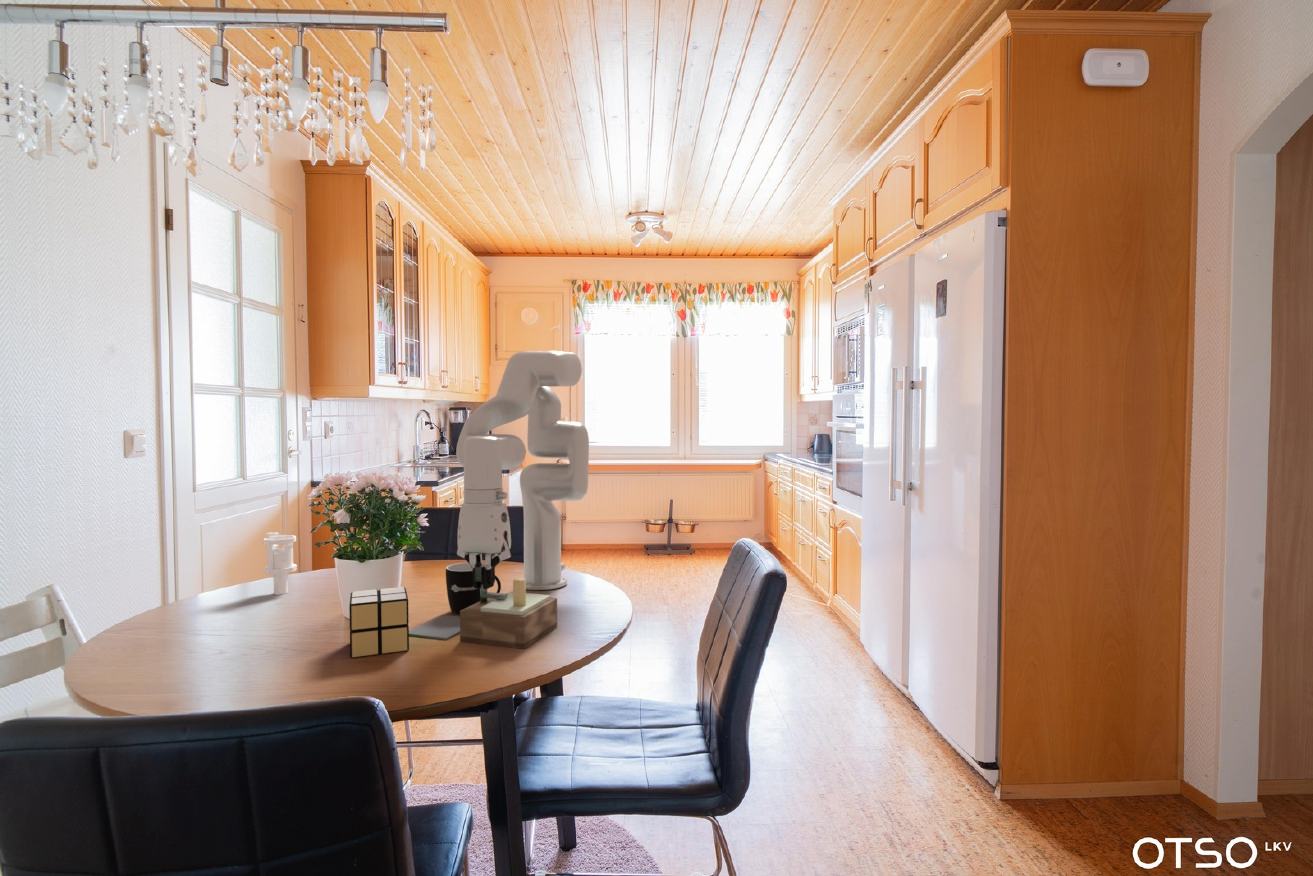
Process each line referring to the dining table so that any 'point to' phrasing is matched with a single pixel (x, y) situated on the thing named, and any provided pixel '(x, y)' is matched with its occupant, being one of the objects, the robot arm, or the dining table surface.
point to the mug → (462, 587)
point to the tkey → (483, 592)
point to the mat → (438, 628)
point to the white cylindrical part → (280, 560)
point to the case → (507, 625)
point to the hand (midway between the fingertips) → (483, 586)
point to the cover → (516, 600)
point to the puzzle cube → (378, 622)
